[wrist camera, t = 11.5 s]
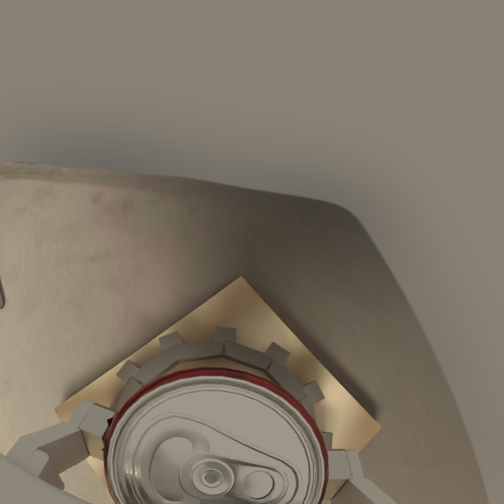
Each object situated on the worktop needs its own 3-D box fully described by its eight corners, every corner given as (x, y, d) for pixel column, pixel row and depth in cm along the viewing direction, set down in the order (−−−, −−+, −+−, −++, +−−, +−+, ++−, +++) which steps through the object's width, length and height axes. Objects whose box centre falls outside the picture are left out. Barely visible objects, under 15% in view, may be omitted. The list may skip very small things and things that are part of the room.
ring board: (61, 409, 17) (44, 408, 15) (240, 282, 24) (242, 267, 22) (195, 565, 12) (193, 581, 10) (374, 426, 19) (391, 427, 17)
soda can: (150, 467, 16) (77, 522, 5) (180, 373, 19) (134, 331, 9) (256, 496, 15) (298, 580, 5) (283, 402, 19) (358, 393, 8)
